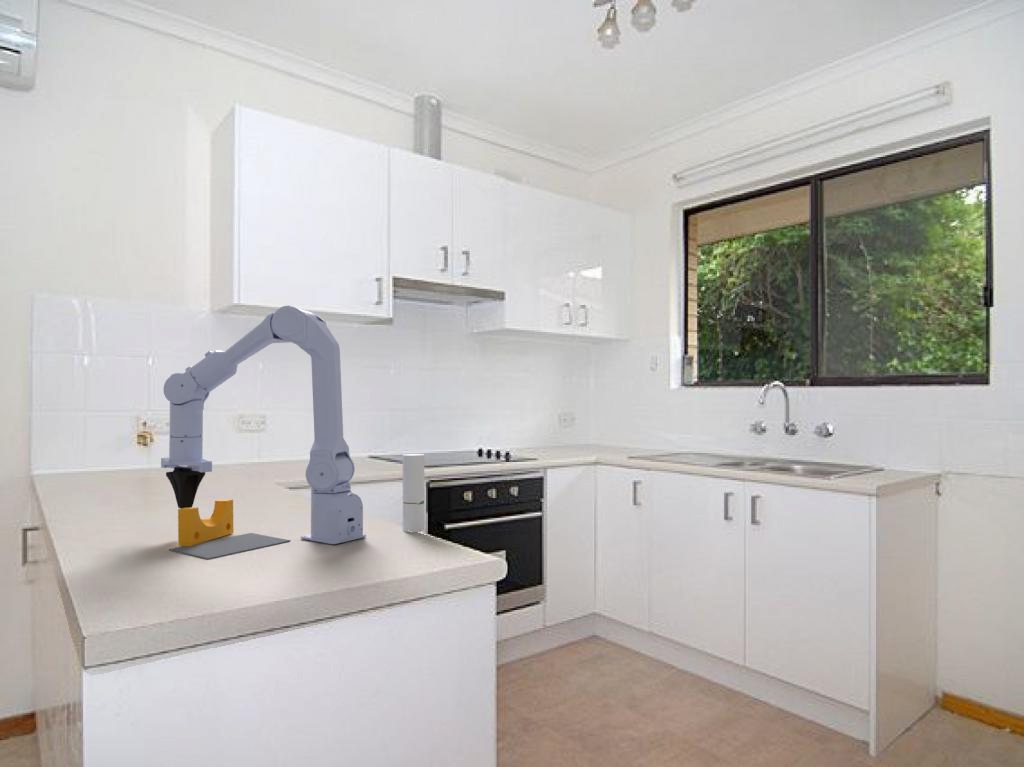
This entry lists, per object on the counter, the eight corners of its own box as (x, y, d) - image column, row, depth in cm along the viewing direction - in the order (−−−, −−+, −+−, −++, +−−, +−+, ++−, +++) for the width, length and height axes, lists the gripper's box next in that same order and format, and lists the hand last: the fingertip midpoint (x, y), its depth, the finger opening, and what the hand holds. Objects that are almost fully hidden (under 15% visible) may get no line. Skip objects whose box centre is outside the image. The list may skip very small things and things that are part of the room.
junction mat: (290, 541, 119) (290, 540, 119) (207, 559, 105) (207, 558, 105) (251, 533, 125) (251, 532, 125) (168, 550, 112) (168, 548, 112)
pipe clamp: (213, 532, 127) (213, 499, 127) (233, 532, 126) (233, 499, 126) (169, 545, 115) (169, 509, 115) (191, 546, 114) (190, 509, 114)
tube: (406, 533, 126) (406, 455, 126) (399, 529, 129) (399, 454, 130) (427, 531, 128) (427, 454, 128) (420, 527, 131) (420, 453, 132)
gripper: (145, 436, 125) (144, 506, 125) (186, 439, 117) (185, 514, 117) (181, 434, 131) (180, 502, 130) (222, 437, 123) (222, 509, 122)
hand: (185, 507), depth 124 cm, fingers closed
